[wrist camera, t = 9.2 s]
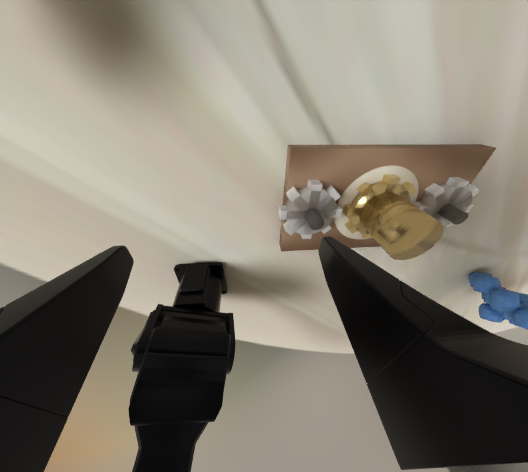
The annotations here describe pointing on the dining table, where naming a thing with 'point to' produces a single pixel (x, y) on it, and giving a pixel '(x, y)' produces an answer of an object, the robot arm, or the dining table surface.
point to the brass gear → (392, 218)
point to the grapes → (500, 301)
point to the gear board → (370, 171)
